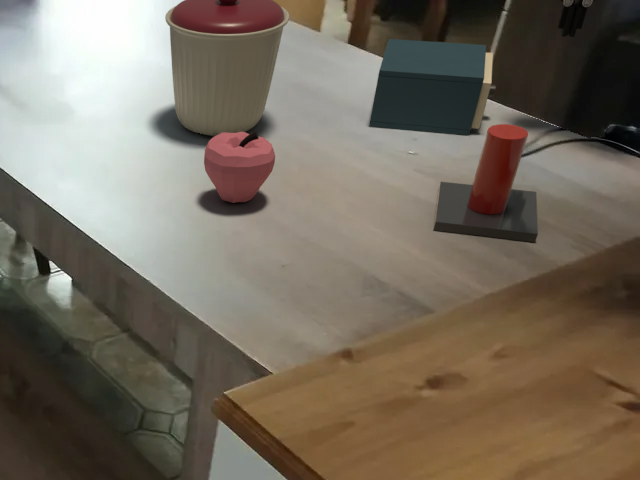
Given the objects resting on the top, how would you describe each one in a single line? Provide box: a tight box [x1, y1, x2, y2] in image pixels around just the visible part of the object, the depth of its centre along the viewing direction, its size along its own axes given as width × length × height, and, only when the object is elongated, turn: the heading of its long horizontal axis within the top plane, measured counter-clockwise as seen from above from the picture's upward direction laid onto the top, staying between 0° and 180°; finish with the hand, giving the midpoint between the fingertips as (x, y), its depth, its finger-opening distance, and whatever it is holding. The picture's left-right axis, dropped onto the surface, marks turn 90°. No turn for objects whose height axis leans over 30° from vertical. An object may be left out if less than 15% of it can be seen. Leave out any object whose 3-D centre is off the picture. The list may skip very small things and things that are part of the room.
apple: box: [203, 130, 276, 204], centre depth 125 cm, size 10×9×10 cm
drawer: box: [471, 51, 497, 130], centre depth 144 cm, size 15×13×7 cm
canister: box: [164, 0, 290, 137], centre depth 141 cm, size 18×18×21 cm
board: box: [433, 181, 539, 243], centre depth 121 cm, size 12×12×1 cm
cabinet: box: [368, 38, 487, 136], centre depth 144 cm, size 15×15×9 cm
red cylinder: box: [468, 123, 529, 214], centre depth 117 cm, size 5×5×10 cm
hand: (567, 33), depth 132 cm, fingers closed
